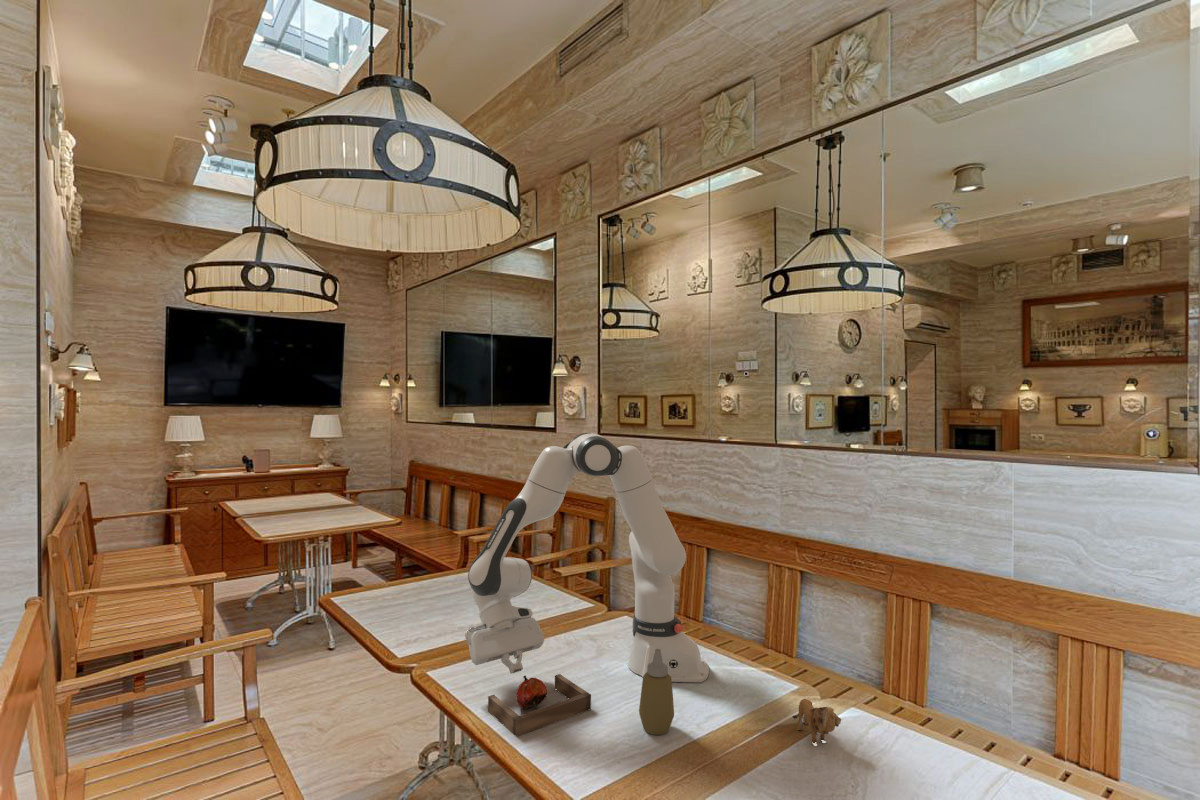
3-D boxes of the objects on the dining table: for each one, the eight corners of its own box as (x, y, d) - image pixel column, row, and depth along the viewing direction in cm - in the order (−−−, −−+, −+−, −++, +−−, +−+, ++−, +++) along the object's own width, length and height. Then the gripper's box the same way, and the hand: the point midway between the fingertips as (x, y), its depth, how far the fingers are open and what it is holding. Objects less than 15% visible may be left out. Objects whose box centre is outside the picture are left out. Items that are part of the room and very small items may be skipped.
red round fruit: (550, 718, 145) (540, 679, 152) (554, 703, 140) (543, 663, 148) (520, 726, 142) (511, 686, 149) (522, 712, 138) (513, 671, 145)
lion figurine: (844, 752, 129) (845, 710, 129) (823, 756, 128) (824, 714, 128) (801, 717, 143) (802, 680, 144) (782, 720, 142) (783, 682, 142)
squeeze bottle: (672, 740, 132) (674, 659, 132) (636, 735, 134) (637, 655, 134) (675, 721, 140) (677, 644, 140) (640, 717, 142) (642, 641, 142)
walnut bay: (487, 710, 143) (488, 696, 143) (559, 687, 156) (559, 673, 156) (516, 736, 132) (517, 720, 132) (590, 709, 145) (591, 694, 145)
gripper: (467, 623, 152) (484, 676, 144) (536, 607, 164) (555, 656, 157) (459, 635, 155) (475, 687, 148) (527, 619, 168) (545, 667, 160)
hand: (517, 671), depth 152 cm, fingers closed
